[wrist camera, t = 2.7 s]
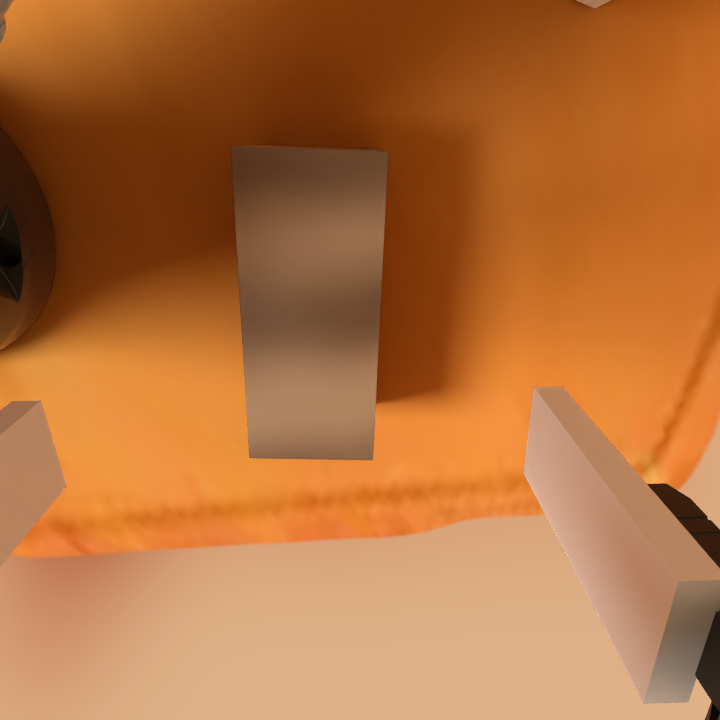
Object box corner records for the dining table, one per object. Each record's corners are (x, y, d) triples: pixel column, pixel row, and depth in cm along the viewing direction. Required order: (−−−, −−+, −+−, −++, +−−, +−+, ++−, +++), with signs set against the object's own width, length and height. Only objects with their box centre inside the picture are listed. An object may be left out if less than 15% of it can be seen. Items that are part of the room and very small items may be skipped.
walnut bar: (368, 402, 31) (372, 460, 25) (267, 400, 31) (249, 458, 25) (380, 148, 25) (388, 151, 20) (256, 144, 25) (230, 146, 20)
